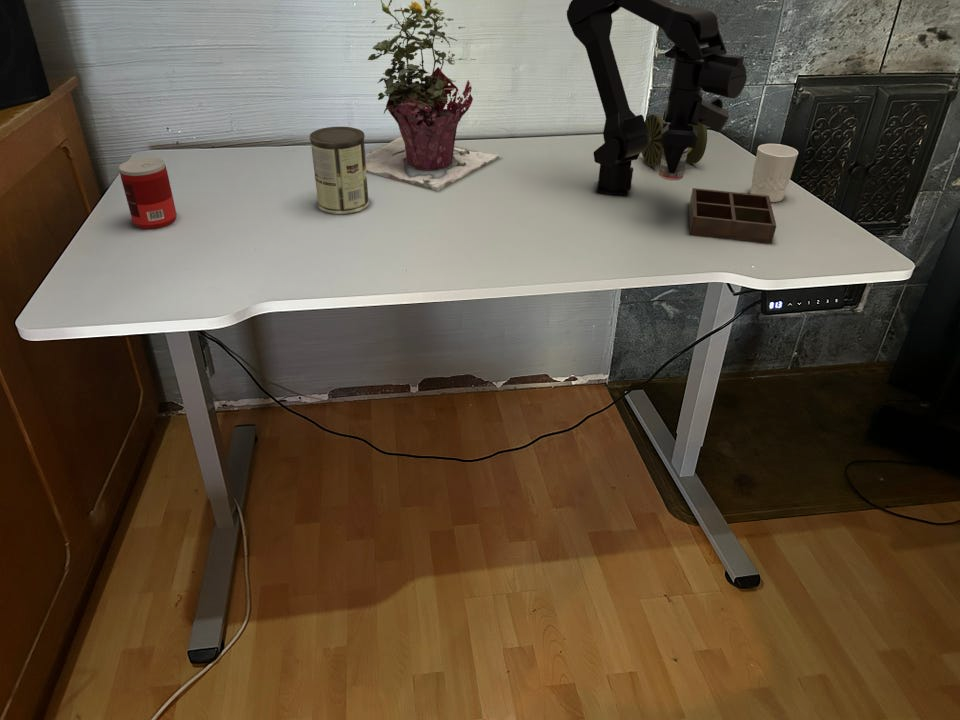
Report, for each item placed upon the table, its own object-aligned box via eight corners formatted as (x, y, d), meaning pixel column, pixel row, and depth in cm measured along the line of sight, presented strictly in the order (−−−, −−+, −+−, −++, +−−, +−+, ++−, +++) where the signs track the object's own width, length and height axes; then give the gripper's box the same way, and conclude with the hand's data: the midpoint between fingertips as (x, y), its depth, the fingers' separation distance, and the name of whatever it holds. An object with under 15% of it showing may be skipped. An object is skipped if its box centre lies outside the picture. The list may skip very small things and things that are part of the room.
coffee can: (336, 191, 155) (329, 123, 147) (378, 200, 152) (374, 131, 144) (306, 208, 147) (298, 137, 139) (350, 218, 144) (344, 146, 136)
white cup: (788, 205, 154) (801, 158, 148) (748, 201, 155) (760, 154, 149) (783, 191, 160) (795, 145, 154) (745, 187, 161) (756, 142, 156)
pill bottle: (655, 172, 148) (662, 130, 144) (678, 172, 149) (686, 130, 144) (662, 181, 145) (669, 138, 140) (686, 180, 145) (693, 138, 140)
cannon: (615, 139, 186) (621, 93, 180) (659, 137, 189) (666, 91, 182) (657, 175, 166) (665, 124, 160) (706, 172, 169) (716, 121, 162)
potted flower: (498, 158, 173) (504, -8, 154) (437, 190, 156) (435, 9, 136) (407, 136, 185) (401, -21, 165) (341, 164, 168) (326, -7, 148)
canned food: (186, 215, 143) (173, 160, 137) (158, 232, 137) (144, 174, 131) (152, 209, 145) (139, 154, 139) (124, 225, 139) (108, 168, 133)
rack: (689, 234, 141) (693, 216, 139) (689, 204, 153) (692, 187, 151) (771, 243, 138) (776, 225, 136) (764, 212, 150) (769, 195, 148)
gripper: (733, 103, 128) (715, 190, 137) (728, 77, 143) (712, 157, 152) (668, 98, 130) (654, 184, 139) (669, 73, 145) (657, 151, 154)
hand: (671, 168), depth 146 cm, fingers closed on pill bottle, 5 cm apart
